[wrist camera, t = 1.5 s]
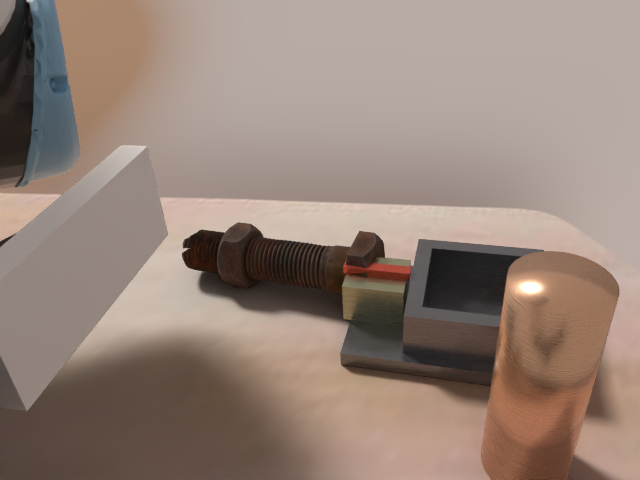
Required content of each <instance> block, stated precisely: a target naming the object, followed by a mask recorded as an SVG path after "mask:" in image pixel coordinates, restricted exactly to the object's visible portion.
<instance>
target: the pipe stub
mask: <svg viewBox="0 0 640 480" xmlns="http://www.w3.org/2000/svg"><path fill="white" fill-rule="evenodd" d="M618 297H619V286H618V283H617V281H616V280H615V278H614V277H613V276H612V275H611V274H610V273H609V272H608V271H607V270H606V269H605V268H603V267H602V266H600V265H599V264H597V263H595V262H593V261H591V260H589V259H586V258H584V257H581V256H578V255H574V254H570V253H564V252H554V251H544V252H536V253H531V254H527V255H525V256H522V257H520V258H519V259H517V260H516V261H514V262H513V263H512V264H511V266H510V267H509V270H508V273H507V280H506V286H505V293H504V300H503V307H502V314H501V320H500V327H499V334H498V341H497V347H496V354H495V361H494V368H493V374H492V381H491V388H490V395H489V401H488V408H487V415H486V422H485V429H484V435H483V442H482V449H481V460H482V464H483V467H484V469H485V471H486V473H487V474H488V476H489V477H490V478H491V479H492V480H567V477H568V473H569V470H570V466H571V463H572V459H573V456H574V452H575V449H576V445H577V442H578V438H579V435H580V431H581V428H582V424H583V421H584V417H585V414H586V410H587V407H588V403H589V400H590V396H591V393H592V389H593V385H594V382H595V378H596V375H597V371H598V368H599V364H600V361H601V357H602V354H603V350H604V347H605V343H606V340H607V336H608V333H609V329H610V326H611V322H612V319H613V315H614V312H615V308H616V305H617V301H618Z"/></svg>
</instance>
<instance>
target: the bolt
mask: <svg viewBox="0 0 640 480" xmlns="http://www.w3.org/2000/svg"><path fill="white" fill-rule="evenodd" d="M183 248H190V249H188V250H186V251H185V252H183V253H182V257H183V260H184V262H185V264H186V266H187V267H188V268H191V269H194V270H198V271H206V272H213V273H218V274H220V277H221V278H222V279H223V281H225V282H226V283H227V284H229V285H231V286H232V287H237V288H243V289H247V288H248V287H250V286H251V285H253V284H254V283H255V282H256V281H257V280H264V281H269V282H270V281H272V282H278V283H282V284H283V283H285V284H289V285H298V286H302V287H310V288H316V289H323V290H328V291H329V292H332V293H339V294H342V285H343V282H344V279H345V276H346V273H344V272H343V267H344V264H345V261H346V265H351V266H356V267H362V268H366V267H368V266H369V264H370V263H373V262H374V260H375V258H376V257H381V258H385V252H384V243H383V241H382V240H381V238H380V237H379V236H378V235H376V234H375V233H371V232H363V231H359V233H358V235H357V236H356V238H355V240H354V242H353V244H352V246H351V247H345V246H331V247H330V246H321V245H316V244H314V245H313V244H309V243H300V242H295V241H293V242H292V241H287V240H275V239H268V238H264V237H263V235H262V233H261V232H260V231H259V230H258V229H257V228H256V227H254V226H253V225H252V224H246V223H237V224H235V225H233V226H232V227H230V228H229V229H228V230H227V231H226V232H225V233H224V232H221V233H220V232H215V231H208V230H200V231H198V232H197V233H195V234H193V235H192V236H190V237H189V238H187V239H184V242H183ZM352 274H353V275H359V276H364V277H367V273H352Z"/></svg>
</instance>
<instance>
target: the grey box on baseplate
mask: <svg viewBox="0 0 640 480" xmlns="http://www.w3.org/2000/svg"><path fill="white" fill-rule="evenodd" d="M536 252H544V250H538V249H526V248H515V247H504V246H492V245H481V244H470V243H459V242H447V241H436V240H425V239H419V241H418V246H417V251H416V256H415V261H414V266H410V263H411V260H402V259H392V258H381V257H376V258H375V260H374V262H373V263H370V264H369V266H368V267H366V268H362V267H356V266H351V265H346V261H345V264H344V267H343V272H344V273H346V276H345V279H344V282H343V285H342V297H343V319H347V320H351V321H350V324H349V327H348V330H347V334H346V337H345V340H344V344H343V347H342V350H341V365H348V366H355V367H362V368H369V369H376V370H383V371H390V372H397V373H405V374H412V375H419V376H426V377H433V378H440V379H447V380H454V381H461V382H468V383H475V384H483V385H490V386H491V381H492V374H493V368H494V361H495V354H496V347H497V341H498V334H499V327H500V320H501V314H502V307H503V300H504V293H505V286H506V280H507V273H508V270H509V267H510V266H511V264H512V263H513V262H514V261H516V260H517V259H519V258H520V257H522V256H525V255H527V254H531V253H536ZM352 273H367V277H364V276H359V275H353V274H352Z"/></svg>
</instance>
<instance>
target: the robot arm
mask: <svg viewBox="0 0 640 480" xmlns="http://www.w3.org/2000/svg"><path fill="white" fill-rule="evenodd" d="M79 154H80V144H79V138H78V132H77V125H76V120H75V114H74V108H73V102H72V97H71V92H70V86H69V81H68V73H67V68H66V62H65V55H64V49H63V44H62V38H61V32H60V27H59V22H58V16H57V10H56V5H55V0H0V189H4V188H10V187H17V188H18V187H23V186H26V185H27V184H28V183H29V182H31V181H36V180H40V179H44V178H48V177H52V176H57V175H61V174H64V173H66V172H68V171H69V170H71V169H72V168H73V167H74V165H75V164H76V162H77V161H78V158H79ZM167 235H168V231H167V227H166V223H165V219H164V214H163V210H162V206H161V202H160V197H159V193H158V189H157V185H156V180H155V176H154V172H153V167H152V163H151V159H150V155H149V150H148V146H127V145H121V146H120V147H119V148H118V149H116V150H115V151H114V152H113V153H112V154H110V155H109V156H108V157H107V158H106V159H104V160H103V161H102V162H101V163H100V164H99V165H97V166H96V167H95V168H94V169H93V170H92V171H90V172H89V173H88V174H87V175H85V176H84V177H83V178H82V179H81V180H80V181H78V182H77V183H76V184H75V185H74V186H72V187H71V188H70V189H69V190H68V191H67V192H65V193H64V194H63V195H62V196H60V197H59V198H58V199H57V200H56V201H55V202H53V203H52V204H51V205H50V206H49V207H47V208H46V209H45V210H44V211H43V212H41V213H40V214H39V215H38V216H37V217H36V218H34V219H33V220H32V221H31V222H30V223H28V224H27V225H26V226H25V227H24V228H22V229H21V230H20V231H19V232H18V233H16V234H14V235H12V236H10V237H8V238H6V239H4V240H2V241H0V408H7V409H14V410H21V411H28V410H29V408H30V407H31V406H32V405H33V403H34V402H35V401H36V400H37V398H38V397H39V396H40V395H41V393H42V392H43V391H44V390H45V388H46V387H47V386H48V385H49V383H50V382H51V381H52V380H53V378H54V377H55V376H56V374H57V373H58V372H59V371H60V369H61V368H62V367H63V366H64V364H65V363H66V362H67V361H68V359H69V358H70V357H71V356H72V354H73V353H74V352H75V351H76V349H77V348H78V347H79V346H80V344H81V343H82V342H83V341H84V339H85V338H86V337H87V336H88V334H89V333H90V332H91V331H92V329H93V328H94V327H95V326H96V324H97V323H98V322H99V321H100V319H101V318H102V317H103V315H104V314H105V313H106V312H107V310H108V309H109V308H110V307H111V305H112V304H113V303H114V302H115V300H116V299H117V298H118V297H119V295H120V294H121V293H122V292H123V290H124V289H125V288H126V287H127V285H128V284H129V283H130V282H131V280H132V279H133V278H134V277H135V275H136V274H137V273H138V272H139V270H140V269H141V268H142V267H143V265H144V264H145V263H146V262H147V260H148V259H149V258H150V257H151V255H152V254H153V253H154V251H155V250H156V249H157V248H158V246H159V245H160V244H161V243H162V241H163V240H164V239H165V238H166V236H167Z"/></svg>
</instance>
